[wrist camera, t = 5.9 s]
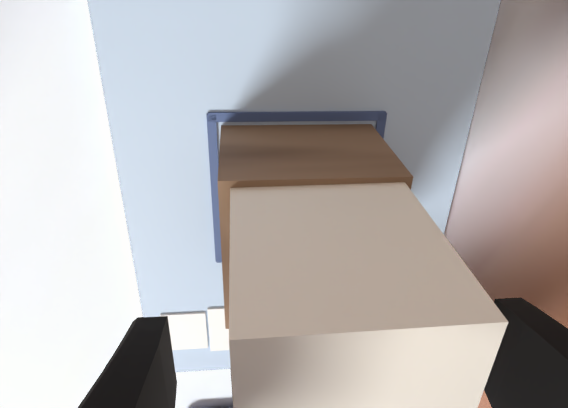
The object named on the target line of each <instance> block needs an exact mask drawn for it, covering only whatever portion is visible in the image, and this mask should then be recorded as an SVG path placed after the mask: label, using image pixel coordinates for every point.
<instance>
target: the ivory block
mask: <svg viewBox="0 0 568 408" xmlns="http://www.w3.org/2000/svg"><path fill="white" fill-rule="evenodd" d="M507 325H508V321H507V319H506V318H505V317H504V315H503V314H502V313H501V311H500V310H499V309H498V307H497V306H496V304H495V303H494V302H493V300H492V299H491V298H490V296H489V295H488V294H487V292H486V291H485V290H484V288H483V287H482V286H481V284H480V283H479V282H478V280H477V279H476V277H475V276H474V275H473V273H472V272H471V271H470V269H469V268H468V267H467V265H466V264H465V263H464V261H463V260H462V259H461V257H460V256H459V255H458V253H457V252H456V250H455V249H454V248H453V246H452V245H451V244H450V242H449V241H448V240H447V238H446V237H445V236H444V234H443V233H442V232H441V230H440V229H439V228H438V226H437V225H436V224H435V222H434V221H433V219H432V218H431V217H430V215H429V214H428V213H427V211H426V210H425V209H424V207H423V206H422V205H421V203H420V202H419V201H418V199H417V198H416V197H415V195H414V194H413V192H412V191H411V190H410V188H409V187H408V186H407V184H406V183H405V182H396V183H365V184H335V185H304V186H273V187H243V188H230V262H229V350H230V366H231V381H232V397H233V408H478V405H479V402H480V399H481V396H482V394H483V391H484V388H485V385H486V383H487V380H488V377H489V374H490V372H491V369H492V366H493V363H494V361H495V358H496V355H497V352H498V350H499V347H500V344H501V341H502V338H503V336H504V333H505V330H506V327H507Z"/></svg>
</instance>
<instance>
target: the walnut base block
mask: <svg viewBox="0 0 568 408" xmlns="http://www.w3.org/2000/svg"><path fill="white" fill-rule="evenodd" d="M412 181H413V176H412V174H411V173H410V172H409V171H408V169H407V168H406V167H405V166H404V164H403V163H402V162H401V161H400V159H399V158H398V157H397V156H396V154H395V153H394V152H393V151H392V149H391V148H390V147H389V146H388V144H387V143H386V142H385V141H384V139H383V138H382V137H381V136H380V134H379V133H378V132H377V131H376V129H375V128H374V127H373V125H372V124H322V125H221V133H220V149H219V166H218V199H219V218H220V237H221V255H222V274H223V293H224V311H225V329H229V262H230V188H243V187H273V186H304V185H335V184H365V183H396V182H405V183H406V184H407V186H408V187H409V188H410V190H411V186H412Z"/></svg>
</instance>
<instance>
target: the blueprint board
mask: <svg viewBox="0 0 568 408" xmlns="http://www.w3.org/2000/svg"><path fill="white" fill-rule="evenodd" d="M87 1H88V6H89V12H90V18H91V23H92V29H93V35H94V40H95V46H96V52H97V57H98V63H99V69H100V74H101V80H102V86H103V91H104V97H105V103H106V108H107V114H108V120H109V125H110V131H111V137H112V143H113V148H114V154H115V160H116V165H117V171H118V177H119V182H120V188H121V194H122V199H123V205H124V211H125V216H126V222H127V228H128V233H129V239H130V245H131V250H132V256H133V262H134V267H135V273H136V279H137V284H138V290H139V296H140V301H141V307H142V313H143V317H159V316H168V323H169V330H170V337H171V345H172V352H173V359H174V366H175V372H186V371H201V370H217V369H231V366H230V350H229V329H225V311H224V293H223V274H222V255H221V237H220V218H219V199H218V166H219V149H220V133H221V125H322V124H372V125H373V127H374V128H375V129H376V131H377V132H378V133H379V134H380V136H381V137H382V138H383V139H384V141H385V142H386V143H387V144H388V146H389V147H390V148H391V149H392V151H393V152H394V153H395V154H396V156H397V157H398V158H399V159H400V161H401V162H402V163H403V164H404V166H405V167H406V168H407V169H408V171H409V172H410V173H411V174H412V176H413V181H412V186H411V191H412V192H413V194H414V195H415V197H416V198H417V199H418V201H419V202H420V203H421V205H422V206H423V207H424V209H425V210H426V211H427V213H428V214H429V215H430V217H431V218H432V219H433V221H434V222H435V224H436V225H437V226H438V228H439V229H440V230H441V232H442V233H443V234H444V231H445V227H446V223H447V219H448V215H449V211H450V207H451V203H452V199H453V195H454V191H455V186H456V182H457V178H458V174H459V170H460V166H461V162H462V158H463V154H464V150H465V146H466V141H467V137H468V133H469V129H470V125H471V121H472V117H473V113H474V109H475V105H476V101H477V96H478V92H479V88H480V84H481V80H482V76H483V72H484V68H485V64H486V60H487V56H488V52H489V47H490V43H491V39H492V35H493V31H494V27H495V23H496V19H497V15H498V11H499V7H500V2H501V0H87Z"/></svg>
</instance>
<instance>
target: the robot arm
mask: <svg viewBox="0 0 568 408" xmlns="http://www.w3.org/2000/svg"><path fill="white" fill-rule="evenodd" d="M494 303H495V304H496V306H497V307H498V309H499V310H500V311H501V313H502V314H503V315H504V317H505V318H506V319H507V321H508V325H507V327H506V330H505V333H504V336H503V338H502V341H501V344H500V347H499V350H498V352H497V355H496V358H495V361H494V363H493V366H492V369H491V372H490V374H489V377H488V380H487V383H486V385H485V388H484V390H485V393H486V395H487V397H488V400H489V402H490V404H491V407H492V408H568V329H567V328H566V327H564V326H563V325H561V324H560V323H559V322H557V321H556V320H554V319H553V318H551V317H550V316H548V315H547V314H545V313H544V312H542V311H541V310H539V309H538V308H536V307H535V306H533V305H532V304H530V303H529V302H527V301H525V300H524V299H522V298H506V299H495V301H494ZM176 386H177V380H176V373H175V366H174V359H173V352H172V345H171V337H170V330H169V323H168V316H159V317H140V318H137V319H136V320H134V321H133V322H132V324H131V326H130V328H129V329H128V331H127V333H126V335H125V336H124V338H123V340H122V341H121V343H120V345H119V346H118V348H117V350H116V351H115V353H114V354H113V356H112V358H111V359H110V361H109V362H108V364H107V365H106V367H105V369H104V370H103V372H102V373H101V375H100V376H99V378H98V379H97V381H96V382H95V384H94V385H93V386H92V388H91V389H90V391H89V392H88V394H87V395H86V397H85V398H84V400H83V401H82V402H81V404H80V405H79V407H78V408H175V399H176Z"/></svg>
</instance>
